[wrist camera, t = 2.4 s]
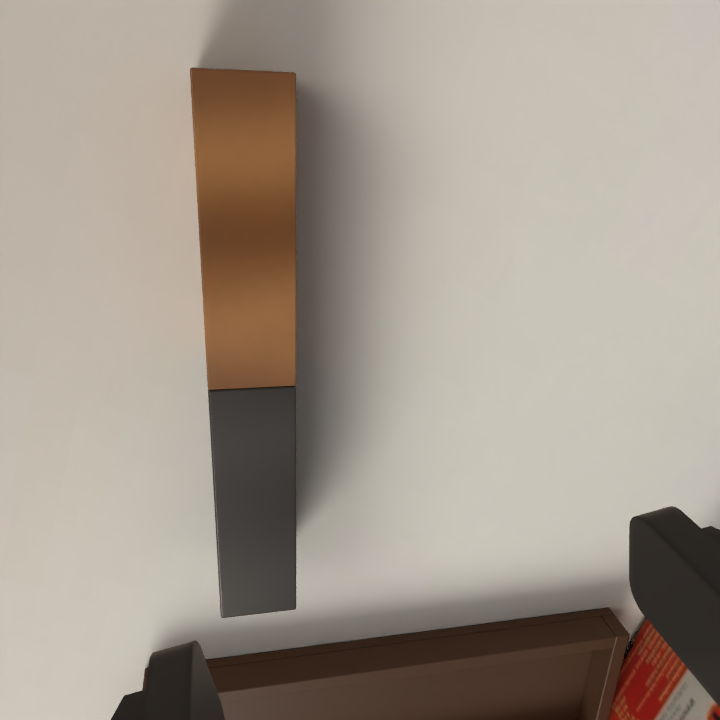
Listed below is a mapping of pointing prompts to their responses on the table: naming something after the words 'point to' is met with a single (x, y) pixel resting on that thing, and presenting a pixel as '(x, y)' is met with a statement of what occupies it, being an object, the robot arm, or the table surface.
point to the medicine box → (658, 684)
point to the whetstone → (250, 326)
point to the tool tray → (437, 674)
